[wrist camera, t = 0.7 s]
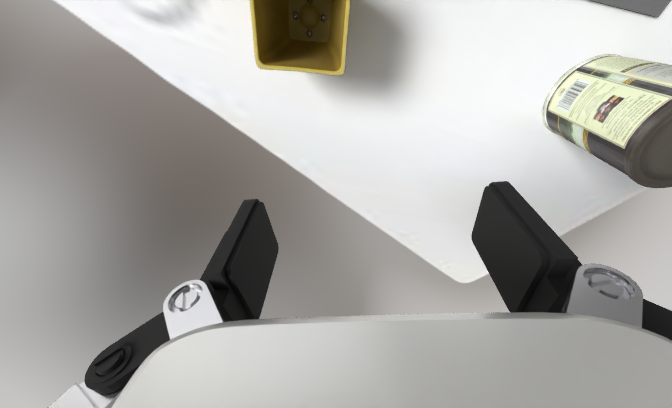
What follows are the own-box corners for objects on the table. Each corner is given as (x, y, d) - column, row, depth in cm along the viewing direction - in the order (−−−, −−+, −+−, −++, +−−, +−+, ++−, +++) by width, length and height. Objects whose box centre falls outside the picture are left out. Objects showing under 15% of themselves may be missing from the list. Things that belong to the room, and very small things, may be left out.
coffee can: (614, 127, 37) (731, 179, 25) (534, 140, 38) (611, 195, 27) (650, 43, 31) (825, 64, 19) (553, 63, 32) (663, 93, 21)
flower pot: (353, -31, 28) (354, -44, 21) (345, 61, 33) (344, 76, 26) (270, -39, 28) (243, -55, 20) (275, 55, 33) (255, 68, 26)
